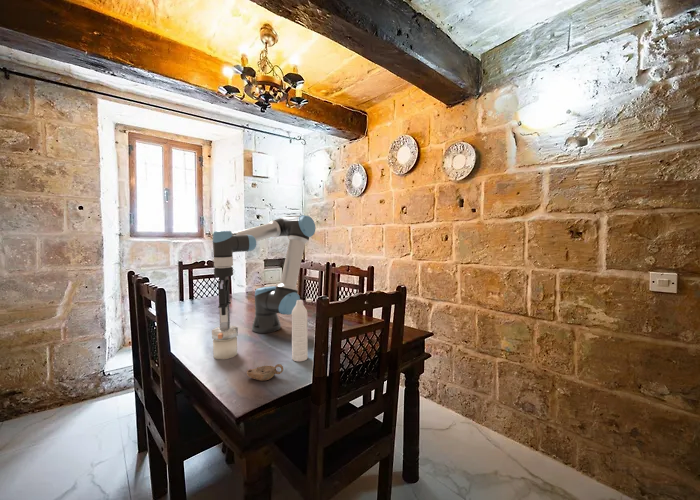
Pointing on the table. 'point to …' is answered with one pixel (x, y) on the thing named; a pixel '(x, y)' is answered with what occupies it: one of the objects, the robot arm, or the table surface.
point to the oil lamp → (264, 372)
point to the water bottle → (299, 332)
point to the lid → (225, 329)
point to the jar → (225, 348)
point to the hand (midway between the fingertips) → (225, 320)
